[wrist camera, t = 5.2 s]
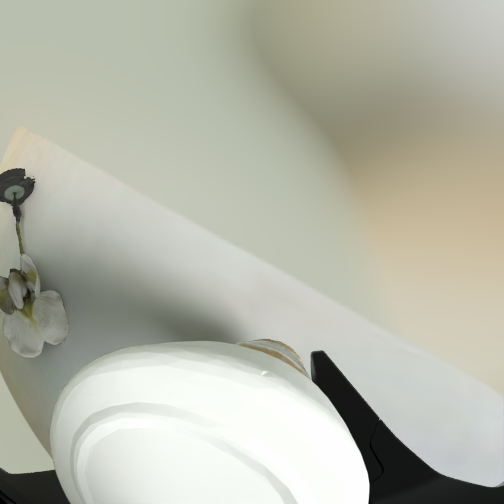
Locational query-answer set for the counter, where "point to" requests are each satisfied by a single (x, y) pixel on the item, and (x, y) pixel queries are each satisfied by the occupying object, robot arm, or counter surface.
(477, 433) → the counter surface
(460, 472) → the counter surface
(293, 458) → the sprinkles bottle
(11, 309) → the artificial flower
